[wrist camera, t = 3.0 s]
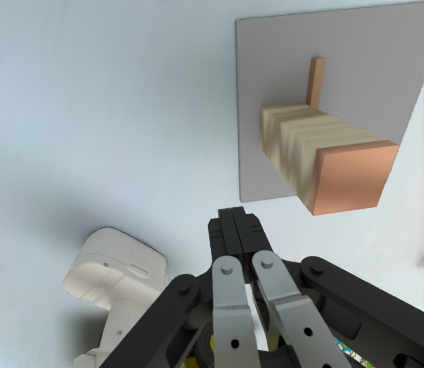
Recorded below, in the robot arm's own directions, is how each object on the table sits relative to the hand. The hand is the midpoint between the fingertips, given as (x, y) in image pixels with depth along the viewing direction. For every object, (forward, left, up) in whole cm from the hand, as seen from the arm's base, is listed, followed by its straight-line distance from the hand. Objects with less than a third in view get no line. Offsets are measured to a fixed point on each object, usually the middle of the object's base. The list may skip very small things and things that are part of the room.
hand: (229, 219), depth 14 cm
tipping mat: (0, +15, -17) cm, 23 cm away
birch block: (0, +9, -16) cm, 18 cm away
